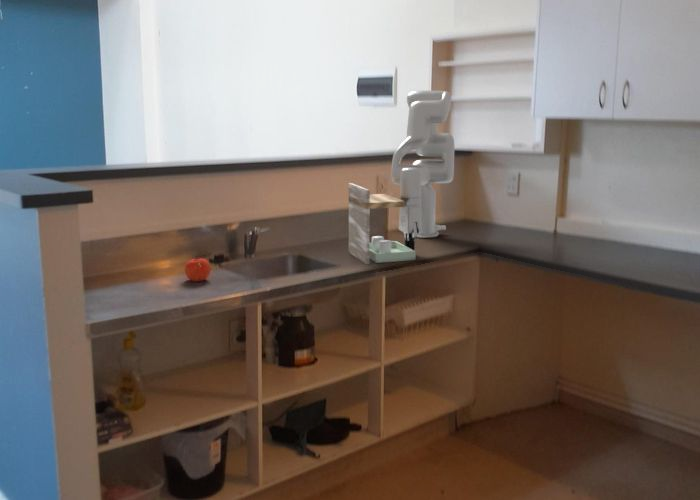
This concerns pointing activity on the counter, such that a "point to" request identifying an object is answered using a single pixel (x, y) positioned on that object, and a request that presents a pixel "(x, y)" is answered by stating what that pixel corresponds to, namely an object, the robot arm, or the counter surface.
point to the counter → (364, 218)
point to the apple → (197, 269)
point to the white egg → (385, 246)
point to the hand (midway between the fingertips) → (409, 250)
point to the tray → (393, 253)
